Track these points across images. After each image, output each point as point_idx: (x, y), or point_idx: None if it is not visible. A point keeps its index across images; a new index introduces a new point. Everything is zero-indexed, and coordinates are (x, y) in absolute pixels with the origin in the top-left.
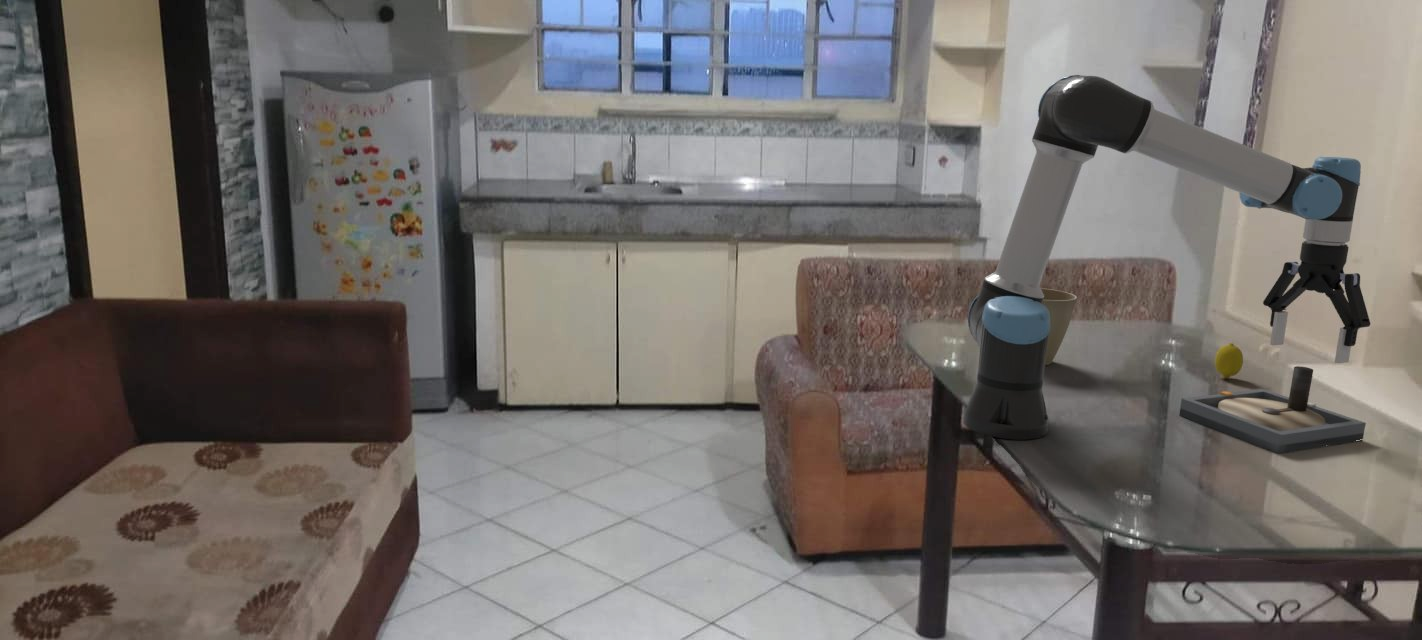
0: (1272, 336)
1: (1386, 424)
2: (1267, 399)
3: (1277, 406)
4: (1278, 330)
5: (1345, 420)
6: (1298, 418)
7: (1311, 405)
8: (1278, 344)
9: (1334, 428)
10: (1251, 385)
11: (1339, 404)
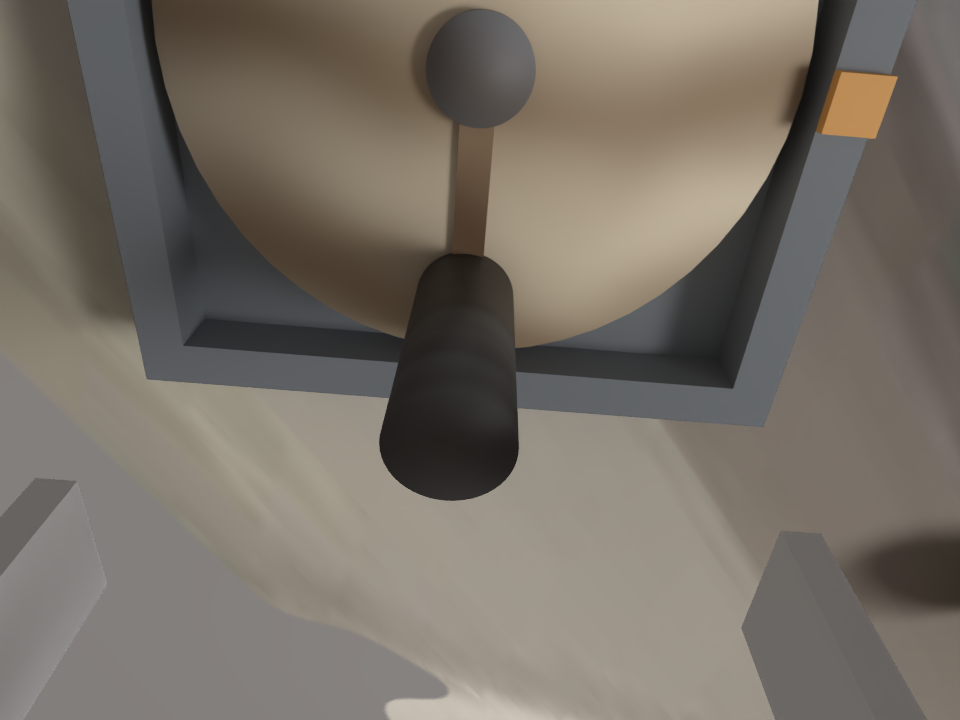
0: (846, 607)
1: (332, 586)
2: (692, 366)
3: (542, 232)
4: (834, 707)
5: (225, 344)
6: (325, 125)
7: None
8: (761, 586)
9: (100, 137)
10: (902, 581)
11: (562, 642)
